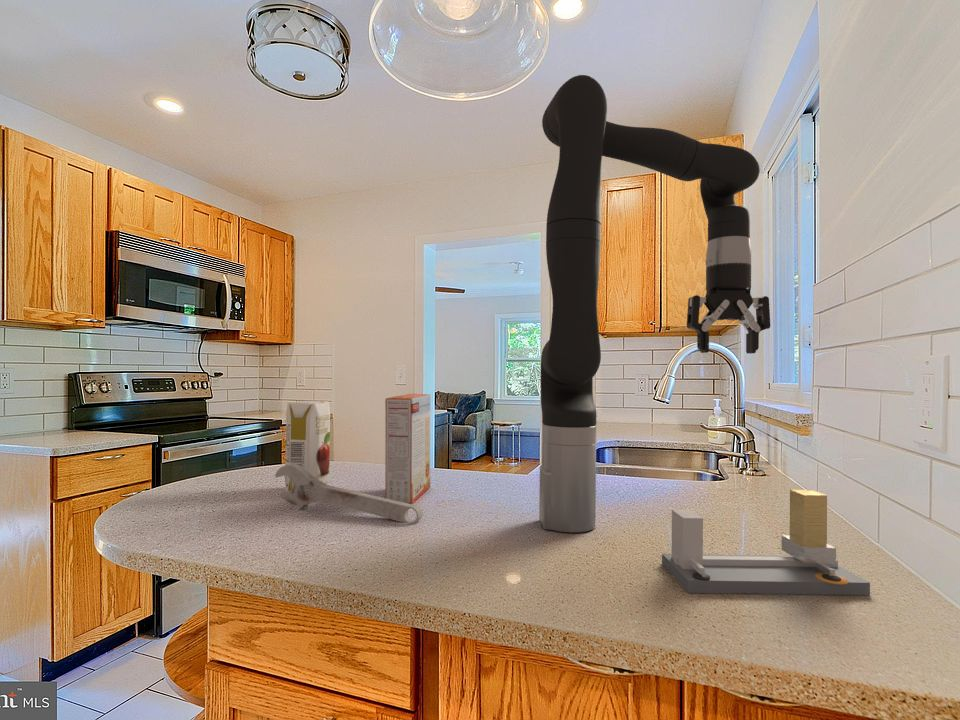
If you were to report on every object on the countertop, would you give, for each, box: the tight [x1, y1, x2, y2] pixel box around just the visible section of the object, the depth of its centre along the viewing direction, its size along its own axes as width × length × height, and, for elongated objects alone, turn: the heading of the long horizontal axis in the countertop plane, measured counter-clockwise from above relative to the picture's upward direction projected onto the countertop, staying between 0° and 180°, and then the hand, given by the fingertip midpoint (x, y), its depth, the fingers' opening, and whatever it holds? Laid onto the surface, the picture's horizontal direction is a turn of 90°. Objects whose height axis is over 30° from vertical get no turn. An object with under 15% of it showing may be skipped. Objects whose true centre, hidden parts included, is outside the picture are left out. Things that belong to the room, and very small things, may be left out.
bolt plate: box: [661, 509, 871, 596], centre depth 67 cm, size 22×10×8 cm, turn 90°
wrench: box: [274, 464, 423, 525], centre depth 94 cm, size 8×2×30 cm
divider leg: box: [781, 489, 837, 576], centre depth 67 cm, size 4×7×9 cm, turn 0°
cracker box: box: [384, 393, 431, 505], centre depth 108 cm, size 14×6×21 cm, turn 170°
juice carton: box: [284, 400, 331, 492], centre depth 111 cm, size 8×9×19 cm
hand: (727, 353), depth 96 cm, fingers open, 8 cm apart
